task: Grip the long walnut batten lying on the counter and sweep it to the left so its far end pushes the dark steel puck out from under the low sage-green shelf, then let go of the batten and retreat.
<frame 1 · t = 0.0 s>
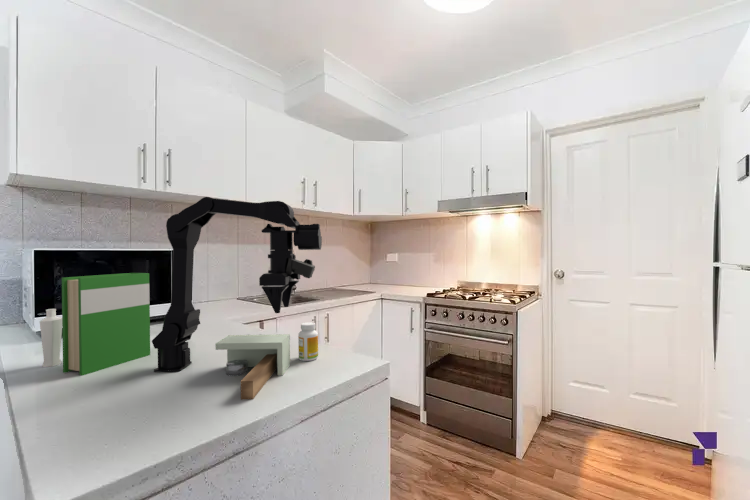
hand: (282, 309, 91), 15 cm above the counter, tool pointing down, fingers open, 9 cm apart
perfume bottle: (50, 365, 94), on the counter
steel puck: (237, 372, 87), on the counter
walnut bar: (260, 383, 80), on the counter
sage shelf: (254, 370, 88), on the counter
hardback book: (109, 363, 95), on the counter
supplement bottle: (308, 359, 97), on the counter
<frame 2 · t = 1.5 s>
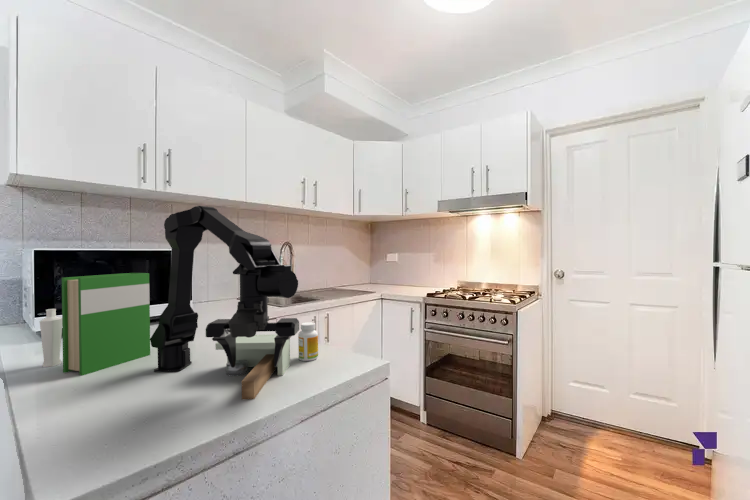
hand: (254, 366, 76), 5 cm above the counter, tool pointing down, fingers open, 9 cm apart
nothing on the counter moved.
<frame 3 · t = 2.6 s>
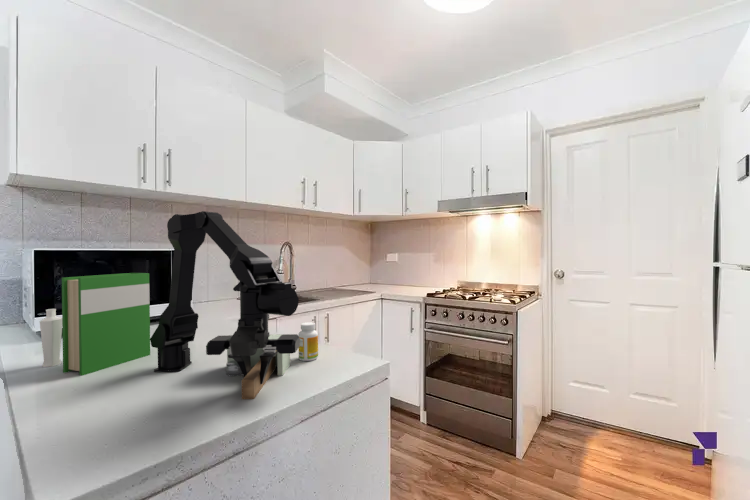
hand: (255, 383, 76), 1 cm above the counter, tool pointing down, fingers closed on walnut bar, 2 cm apart
walnut bar: (260, 382, 80), on the counter, touching gripper
everything else where it was.
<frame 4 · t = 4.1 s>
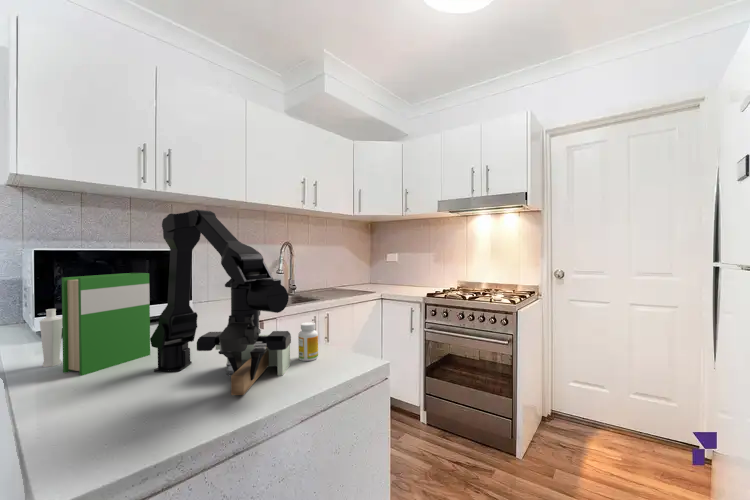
hand: (245, 379, 76), 2 cm above the counter, tool pointing down, fingers closed on walnut bar, 2 cm apart
walnut bar: (252, 378, 80), point 1 cm above the counter, touching gripper
everything else where it was.
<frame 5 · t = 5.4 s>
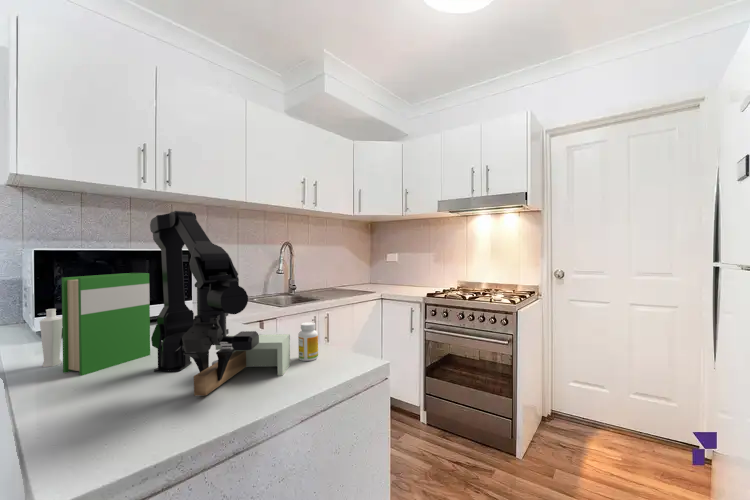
hand: (212, 380, 76), 2 cm above the counter, tool pointing down, fingers closed on walnut bar, 3 cm apart
steel puck: (222, 371, 87), on the counter, touching walnut bar
walnut bar: (223, 379, 80), point 1 cm above the counter, touching gripper, steel puck
everything else where it was.
when the fingers open (1 cm above the counter, at t = 7.3 s): walnut bar stays where it is, on the counter.
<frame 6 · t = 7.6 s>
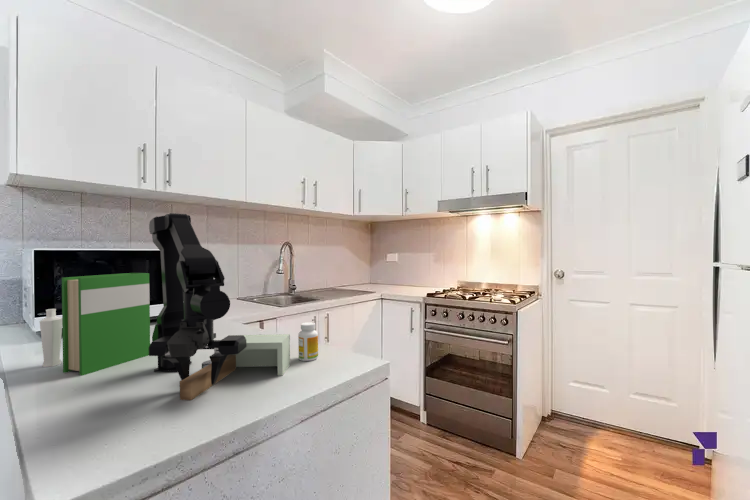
hand: (199, 384, 75), 1 cm above the counter, tool pointing down, fingers open, 6 cm apart
steel puck: (212, 372, 87), on the counter
walnut bar: (211, 384, 80), on the counter
everything else where it was.
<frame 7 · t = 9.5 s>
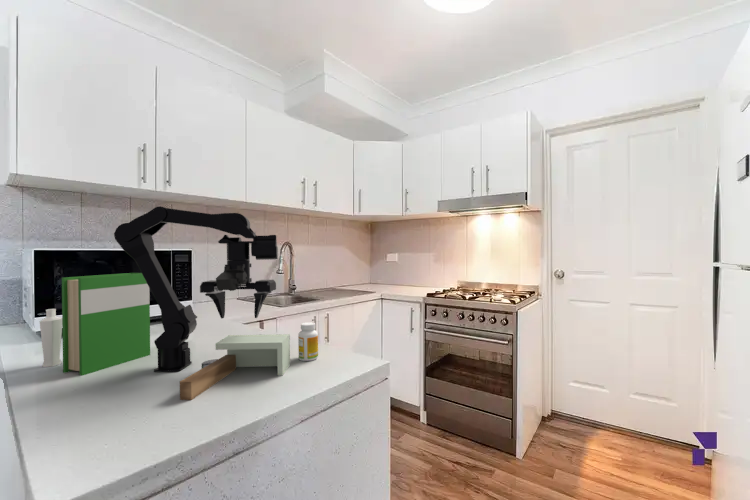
hand: (239, 318, 94), 12 cm above the counter, tool pointing down, fingers open, 9 cm apart
nothing on the counter moved.
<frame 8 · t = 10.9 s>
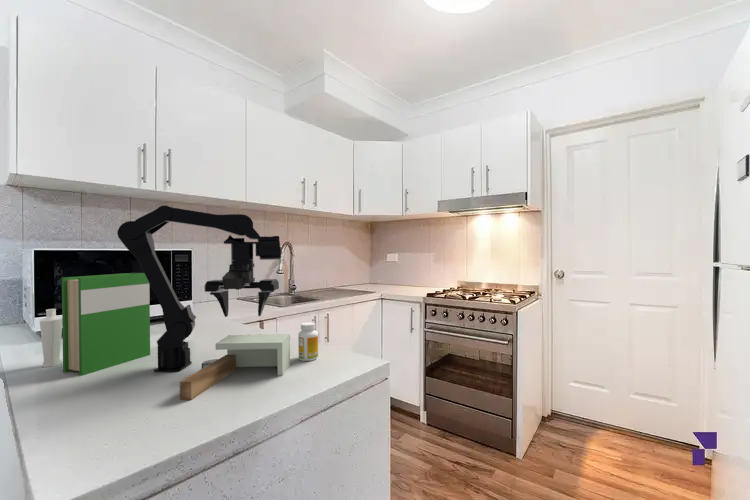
hand: (243, 316, 96), 12 cm above the counter, tool pointing down, fingers open, 9 cm apart
nothing on the counter moved.
at the end: steel puck inside the target area (4.0 cm from its centre), on the counter; steel puck moved 6.4 cm from its start; the gripper is holding nothing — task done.
